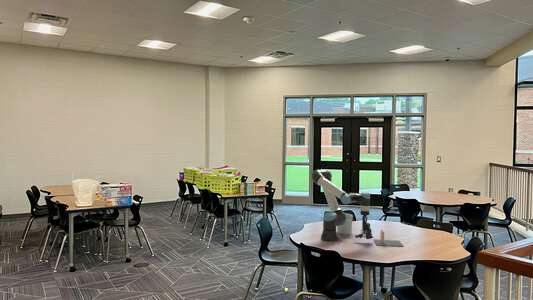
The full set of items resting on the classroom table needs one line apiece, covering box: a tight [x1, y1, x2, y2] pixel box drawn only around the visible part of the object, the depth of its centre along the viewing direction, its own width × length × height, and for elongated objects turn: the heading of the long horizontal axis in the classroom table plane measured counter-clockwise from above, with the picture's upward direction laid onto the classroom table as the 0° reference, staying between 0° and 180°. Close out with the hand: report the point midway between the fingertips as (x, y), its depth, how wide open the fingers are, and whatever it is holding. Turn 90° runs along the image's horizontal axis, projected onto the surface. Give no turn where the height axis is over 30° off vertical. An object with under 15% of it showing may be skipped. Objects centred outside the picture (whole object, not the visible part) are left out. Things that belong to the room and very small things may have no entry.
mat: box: [373, 238, 404, 248], centre depth 336 cm, size 22×18×1 cm
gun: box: [354, 222, 374, 240], centre depth 339 cm, size 3×17×15 cm
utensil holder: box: [336, 213, 354, 235], centre depth 374 cm, size 15×15×18 cm
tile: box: [379, 229, 385, 244], centre depth 337 cm, size 2×10×10 cm, turn 172°
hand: (363, 236), depth 339 cm, fingers closed on gun, 3 cm apart
